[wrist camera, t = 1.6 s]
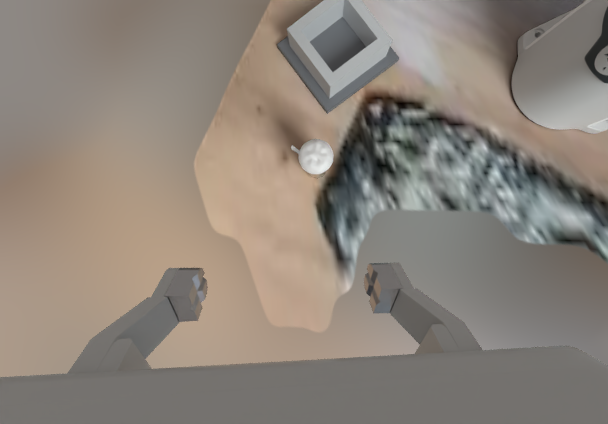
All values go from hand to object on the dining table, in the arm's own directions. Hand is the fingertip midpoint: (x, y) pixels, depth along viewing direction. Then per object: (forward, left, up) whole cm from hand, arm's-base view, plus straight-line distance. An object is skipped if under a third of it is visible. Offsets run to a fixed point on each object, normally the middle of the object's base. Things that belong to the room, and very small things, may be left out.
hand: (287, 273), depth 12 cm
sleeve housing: (-21, -21, -27) cm, 40 cm away
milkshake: (-7, -8, -27) cm, 29 cm away
